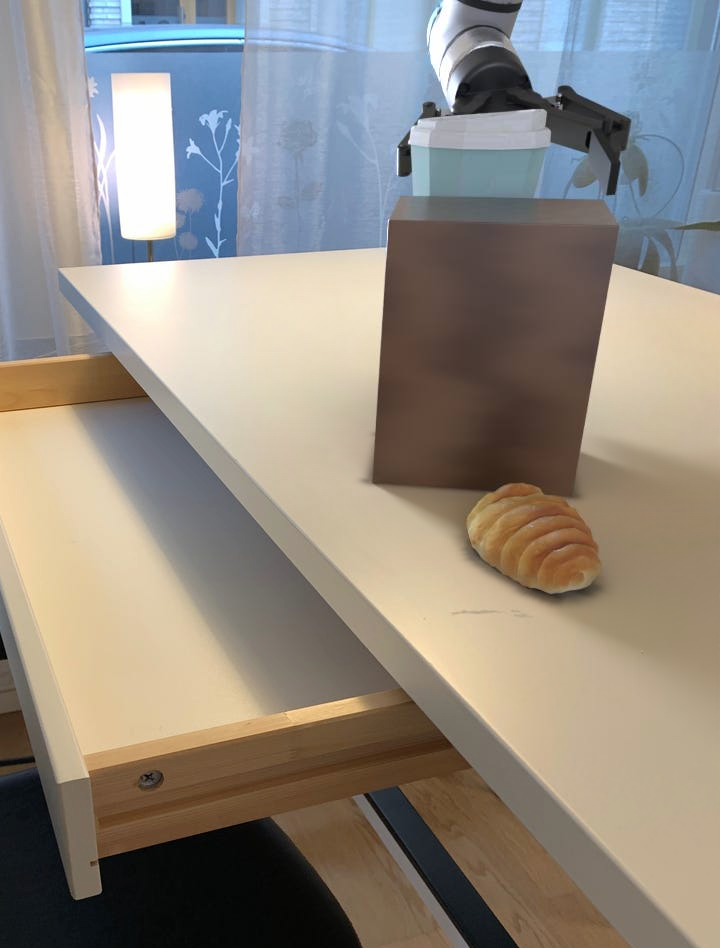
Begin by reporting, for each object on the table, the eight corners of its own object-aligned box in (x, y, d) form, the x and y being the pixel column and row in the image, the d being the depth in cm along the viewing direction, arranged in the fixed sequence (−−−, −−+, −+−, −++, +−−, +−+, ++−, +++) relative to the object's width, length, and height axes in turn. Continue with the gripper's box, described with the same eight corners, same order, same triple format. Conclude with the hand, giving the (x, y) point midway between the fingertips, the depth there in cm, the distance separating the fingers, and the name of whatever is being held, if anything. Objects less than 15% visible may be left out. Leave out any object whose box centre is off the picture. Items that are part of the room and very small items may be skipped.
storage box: (553, 390, 91) (587, 171, 82) (571, 498, 71) (619, 225, 62) (396, 382, 94) (412, 169, 84) (372, 484, 74) (388, 220, 64)
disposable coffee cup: (377, 326, 80) (390, 113, 72) (413, 296, 89) (428, 102, 81) (513, 339, 77) (542, 116, 69) (537, 306, 85) (565, 104, 77)
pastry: (628, 592, 60) (640, 533, 58) (525, 610, 58) (533, 550, 56) (544, 526, 67) (552, 472, 65) (451, 540, 66) (457, 486, 64)
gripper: (610, 110, 100) (673, 214, 87) (357, 141, 102) (380, 248, 88) (623, 26, 95) (693, 124, 81) (355, 61, 97) (379, 162, 83)
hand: (530, 189), depth 85 cm, fingers open, 13 cm apart
